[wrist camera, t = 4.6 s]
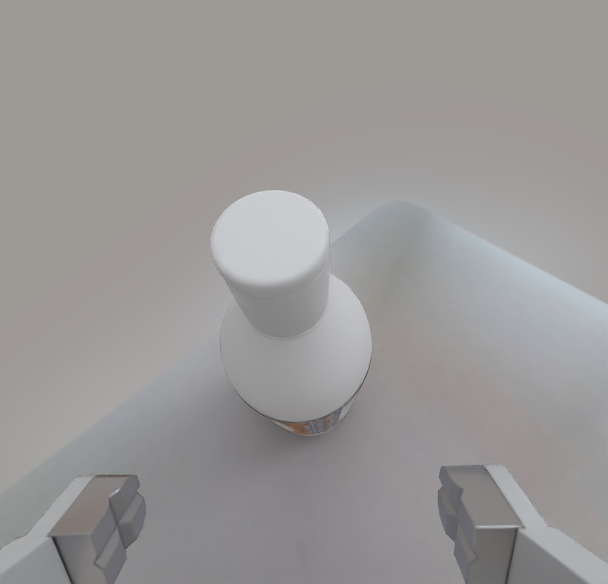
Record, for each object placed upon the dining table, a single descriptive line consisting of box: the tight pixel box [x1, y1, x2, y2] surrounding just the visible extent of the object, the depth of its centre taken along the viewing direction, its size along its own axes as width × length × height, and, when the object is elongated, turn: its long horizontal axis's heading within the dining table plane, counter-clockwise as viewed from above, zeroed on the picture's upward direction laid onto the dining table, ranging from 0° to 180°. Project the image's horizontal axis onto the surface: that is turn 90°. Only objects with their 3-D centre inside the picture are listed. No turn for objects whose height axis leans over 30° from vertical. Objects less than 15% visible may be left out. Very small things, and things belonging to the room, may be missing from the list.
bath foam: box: [210, 190, 372, 436], centre depth 16 cm, size 7×7×20 cm
